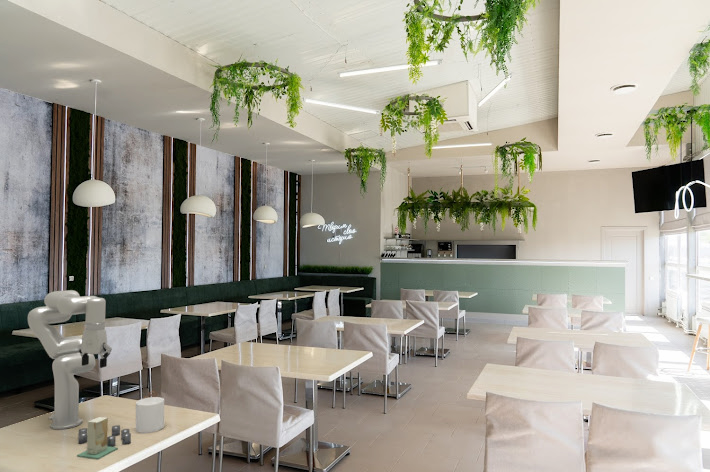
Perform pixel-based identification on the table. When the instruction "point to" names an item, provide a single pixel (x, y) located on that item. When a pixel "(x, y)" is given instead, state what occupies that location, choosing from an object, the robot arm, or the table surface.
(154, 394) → the brown wooden carved piece
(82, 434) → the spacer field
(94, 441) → the skincare box
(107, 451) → the coaster
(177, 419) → the table surface
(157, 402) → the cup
